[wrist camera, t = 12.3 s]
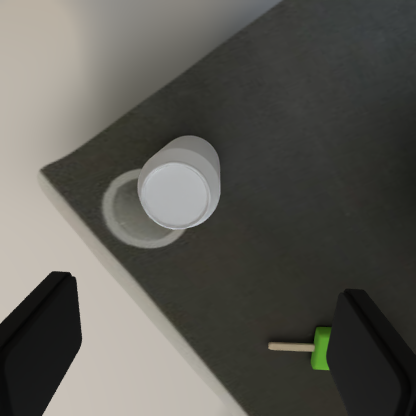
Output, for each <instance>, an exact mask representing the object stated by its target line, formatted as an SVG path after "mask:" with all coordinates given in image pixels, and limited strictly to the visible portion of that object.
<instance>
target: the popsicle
mask: <svg viewBox="0 0 416 416" xmlns="http://www.w3.org/2000/svg"><path fill="white" fill-rule="evenodd" d="M331 328H332V327H317V328H316V332H315V338H314V344H307V343H283V342H270V343H269V345H268V347H269V349H271V350H290V351H312V356H311V365H312V367H313V369H320V370H329V367H328V365H327V361H326V351H327V347H328V342H329V338H330V333H331Z"/></svg>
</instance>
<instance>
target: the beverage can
mask: <svg viewBox="0 0 416 416" xmlns="http://www.w3.org/2000/svg"><path fill="white" fill-rule="evenodd" d="M138 195H139V199H140V202H141V204H142V206H143V208H144V210H145V211H146V213H147V214H148V216H149V217H150V218H151V219H152V220H153V221H154V222H156V223H157V224H159V225H161V226H163V227H165V228H169V229H186V228H190V227H193V226H196V225H198V224H200V223H202V222H204V221H205V220H206V219H207V218H209V217H210V215H211V214H212V213H213V212H214V210H215V208H216V207H217V204H218V202H219V198H220V162H219V158H218V155H217V152H216V151H215V149H214V148H213V146H212V145H211V144H210V143H209V142H207V141H206V140H204V139H202V138H200V137H197V136H181V137H178V138H176V139H174V140H173V141H171V142H170V143H168V144H167V145H166V146H165V147H163V148H162V149H161V150H160V151H159V152H157V153H156V154H155V155H154V156H152V157H151V158H150V159H149V160H148V161H147V162H146V164H145V165H144V166H143V168H142V170H141V172H140V175H139V178H138Z"/></svg>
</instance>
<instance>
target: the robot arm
mask: <svg viewBox="0 0 416 416" xmlns="http://www.w3.org/2000/svg"><path fill="white" fill-rule="evenodd" d="M81 343H82V333H81V323H80V312H79V302H78V292H77V282H76V278H75V277H73V276H72V275H71V273H70V272H58V271H53V272H51V273H50V274H49V275H48V276H47V277H46V278H45V279H44V280H43V281H42V282H41V283H40V284H39V285H38V286H37V287H36V288H35V289H34V290H33V291H32V292H31V293H30V294H29V295H28V296H27V297H26V298H25V299H24V300H23V301H22V302H21V303H20V304H19V306H17V307H16V309H14V310H13V312H12V313H10V314H9V316H8V317H7V318H5V319H4V320H3V321H2V323H1V324H0V416H42V415H43V413H44V411H45V410H46V408H47V406H48V404H49V402H50V401H51V399H52V397H53V395H54V393H55V392H56V390H57V388H58V386H59V385H60V383H61V381H62V379H63V377H64V375H65V374H66V372H67V370H68V369H69V367H70V365H71V363H72V362H73V360H74V358H75V356H76V354H77V353H78V351H79V349H80V346H81ZM326 361H327V365H328V367H329V370H330V372H331V374H332V377H333V379H334V382H335V384H336V386H337V389H338V391H339V393H340V396H341V398H342V401H343V403H344V405H345V408H346V410H347V412H348V415H349V416H416V355H415V354H414V353H413V351H412V350H411V349H410V348H409V346H408V345H407V344H406V343H405V341H404V340H403V339H402V337H401V336H400V335H399V334H398V332H397V331H396V330H395V329H394V327H393V326H392V325H391V323H390V322H389V321H388V320H387V318H386V317H385V316H384V315H383V313H382V312H381V311H380V309H379V308H378V307H377V306H376V304H375V303H374V302H373V301H372V299H371V298H370V297H369V295H368V294H367V293H366V292H365V291H364V290H359V289H345V291H344V293H340V294H339V296H338V301H337V305H336V310H335V314H334V319H333V324H332V328H331V333H330V338H329V342H328V347H327V351H326Z"/></svg>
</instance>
